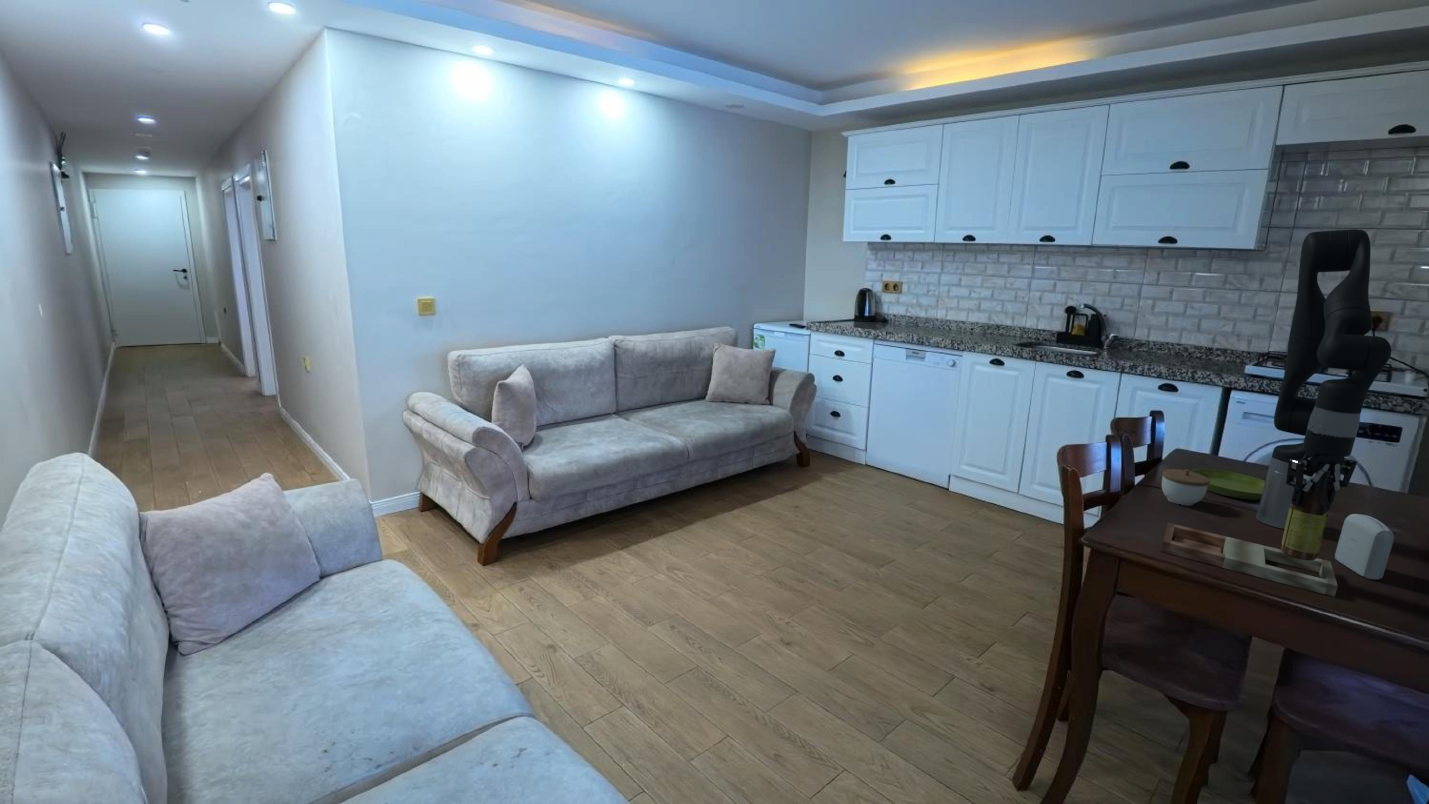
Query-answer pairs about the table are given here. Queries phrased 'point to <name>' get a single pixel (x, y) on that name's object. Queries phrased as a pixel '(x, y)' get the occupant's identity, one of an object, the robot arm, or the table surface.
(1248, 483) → the saucer
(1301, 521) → the sauce bottle
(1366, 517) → the photo printer
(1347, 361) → the robot arm
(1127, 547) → the table surface
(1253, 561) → the birch rail plate
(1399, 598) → the table surface
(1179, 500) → the lidded jar
